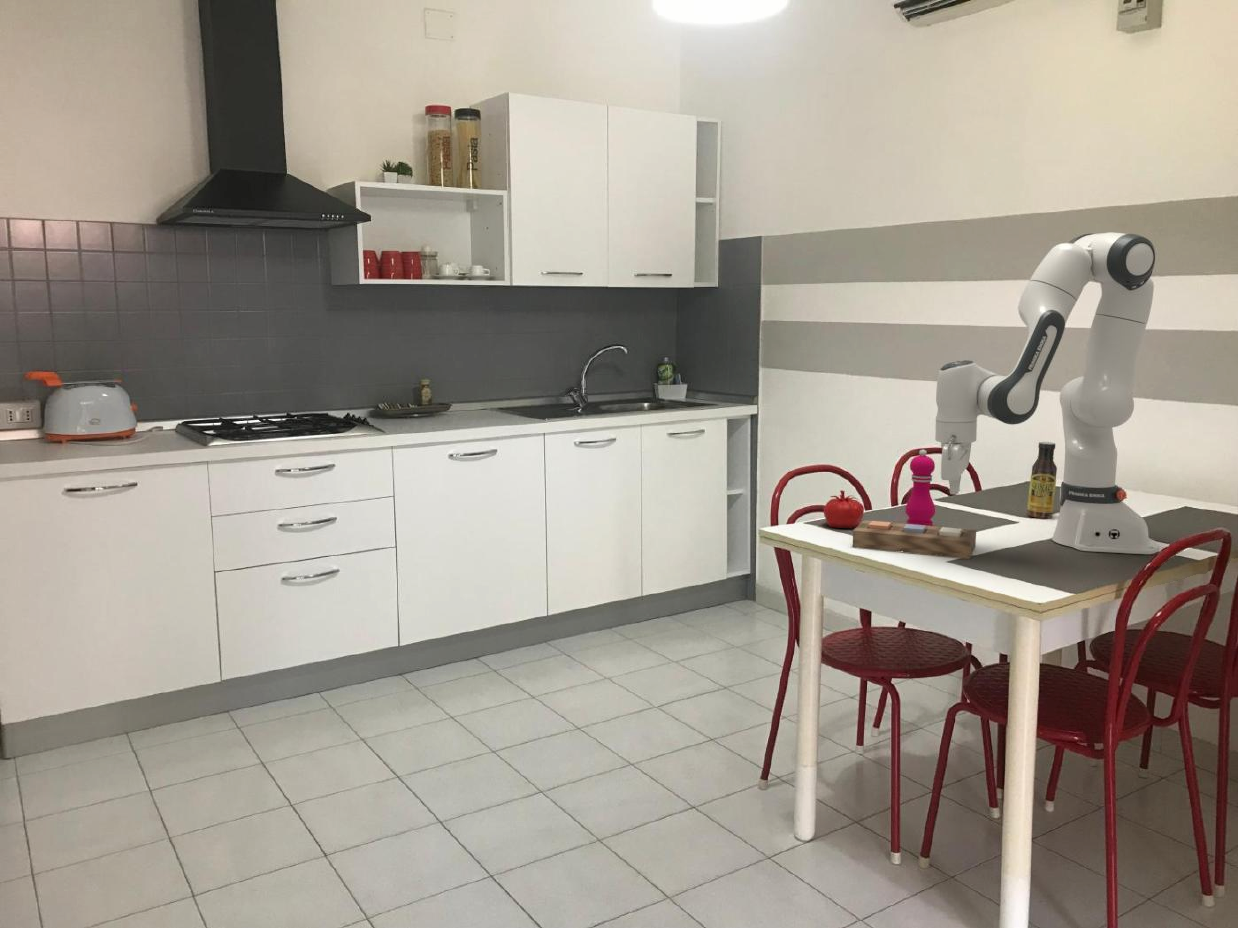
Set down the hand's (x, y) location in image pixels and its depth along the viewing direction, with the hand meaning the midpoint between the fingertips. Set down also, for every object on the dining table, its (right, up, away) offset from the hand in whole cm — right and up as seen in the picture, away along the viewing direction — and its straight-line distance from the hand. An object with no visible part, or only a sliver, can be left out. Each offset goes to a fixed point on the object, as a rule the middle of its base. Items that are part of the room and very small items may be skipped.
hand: (954, 493), depth 229 cm
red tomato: (-19, -9, +27) cm, 35 cm away
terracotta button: (-15, -11, +9) cm, 20 cm away
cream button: (0, -12, +2) cm, 12 cm away
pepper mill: (-1, -10, +25) cm, 27 cm away
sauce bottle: (+35, -8, +37) cm, 51 cm away
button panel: (-8, -13, +5) cm, 16 cm away
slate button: (-8, -11, +5) cm, 15 cm away
